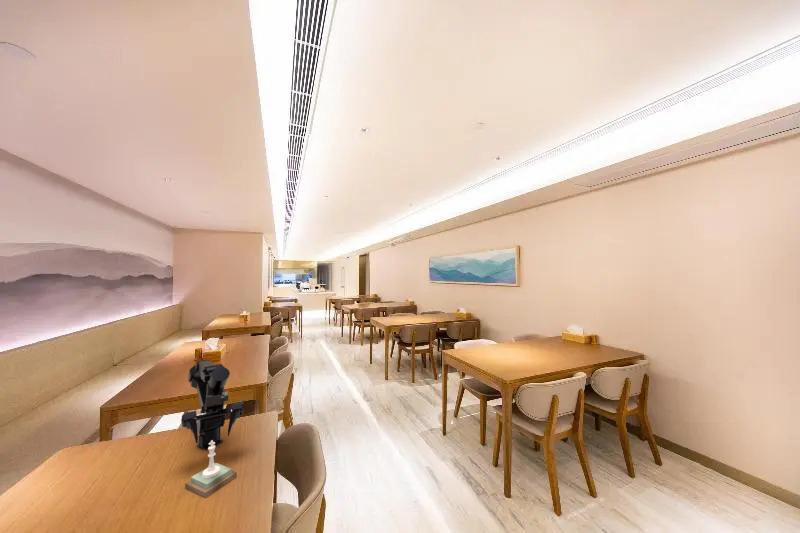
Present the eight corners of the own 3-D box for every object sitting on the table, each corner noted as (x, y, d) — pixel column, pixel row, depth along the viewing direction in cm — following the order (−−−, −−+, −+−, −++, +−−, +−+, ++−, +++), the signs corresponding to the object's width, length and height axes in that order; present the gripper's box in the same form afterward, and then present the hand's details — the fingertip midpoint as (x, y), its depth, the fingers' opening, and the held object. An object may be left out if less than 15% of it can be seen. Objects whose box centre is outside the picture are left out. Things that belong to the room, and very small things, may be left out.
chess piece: (215, 477, 91) (215, 444, 91) (198, 478, 91) (199, 445, 91) (223, 467, 96) (223, 436, 96) (207, 468, 96) (208, 437, 96)
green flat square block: (216, 469, 100) (217, 460, 100) (236, 477, 96) (236, 467, 96) (185, 488, 91) (185, 478, 91) (205, 497, 86) (205, 487, 87)
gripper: (182, 389, 100) (176, 437, 90) (244, 380, 110) (244, 422, 100) (185, 404, 107) (179, 450, 97) (243, 394, 116) (243, 435, 106)
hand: (212, 439), depth 100 cm, fingers open, 9 cm apart
